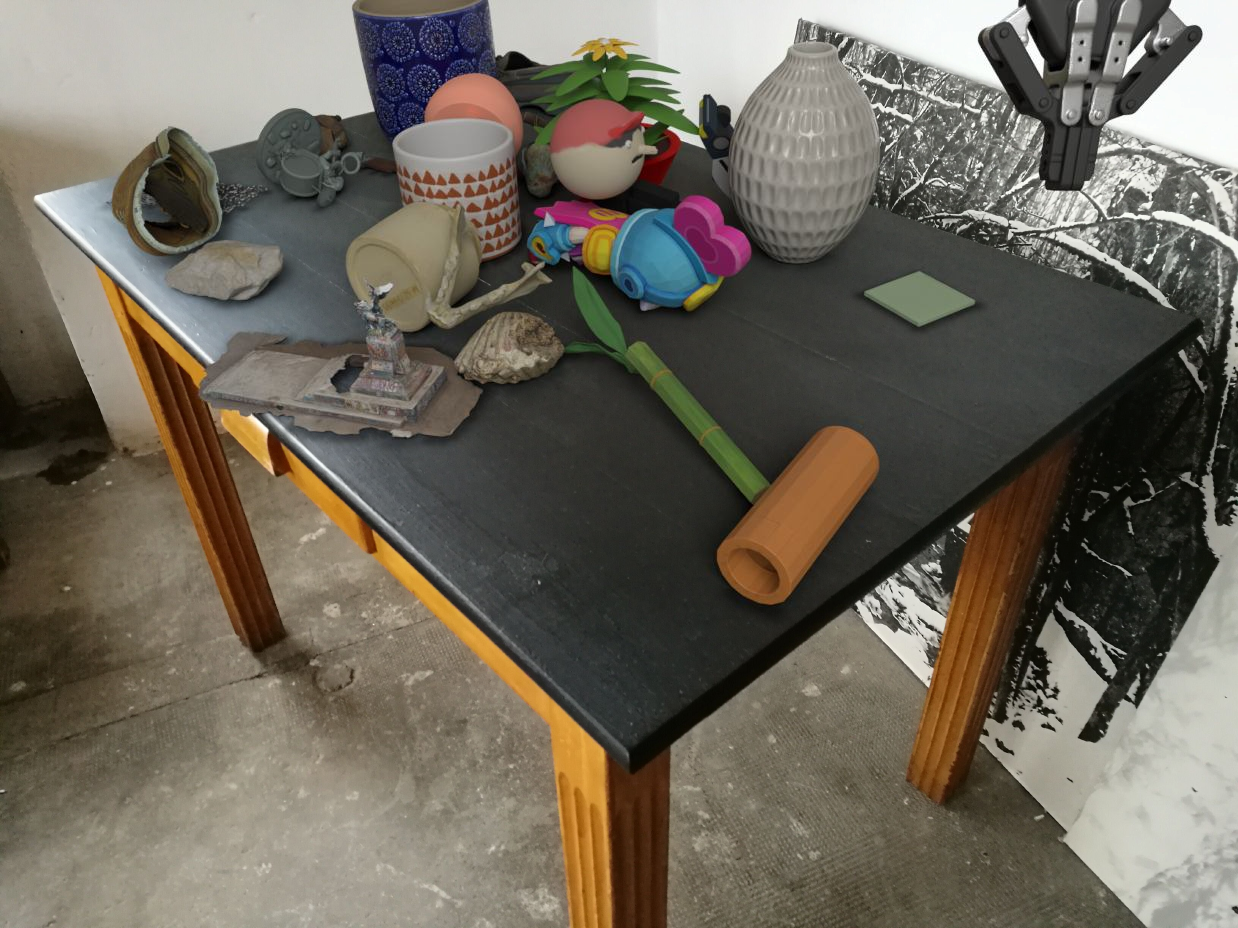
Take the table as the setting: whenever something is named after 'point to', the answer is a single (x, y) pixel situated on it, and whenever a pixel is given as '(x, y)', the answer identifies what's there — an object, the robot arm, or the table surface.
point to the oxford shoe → (170, 195)
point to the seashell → (509, 349)
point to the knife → (379, 164)
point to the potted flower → (620, 99)
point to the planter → (419, 53)
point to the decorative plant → (665, 389)
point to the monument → (380, 397)
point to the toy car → (716, 138)
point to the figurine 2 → (331, 132)
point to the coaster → (919, 298)
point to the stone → (227, 270)
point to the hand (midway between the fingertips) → (1063, 190)
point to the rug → (218, 196)
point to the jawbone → (453, 316)
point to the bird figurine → (537, 162)
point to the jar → (798, 515)
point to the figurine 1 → (301, 156)
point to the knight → (645, 248)
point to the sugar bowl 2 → (477, 103)
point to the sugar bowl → (411, 262)
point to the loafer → (517, 75)
